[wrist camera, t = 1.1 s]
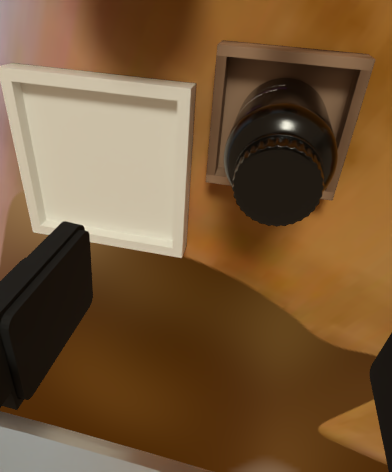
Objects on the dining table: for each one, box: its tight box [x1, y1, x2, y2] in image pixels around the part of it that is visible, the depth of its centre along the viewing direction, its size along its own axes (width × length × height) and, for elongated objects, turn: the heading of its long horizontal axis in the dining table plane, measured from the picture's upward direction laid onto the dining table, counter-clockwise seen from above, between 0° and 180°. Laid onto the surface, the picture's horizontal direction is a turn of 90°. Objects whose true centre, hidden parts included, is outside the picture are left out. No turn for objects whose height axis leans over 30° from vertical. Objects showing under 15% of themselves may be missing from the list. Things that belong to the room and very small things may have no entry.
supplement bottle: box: [224, 78, 338, 226], centre depth 24 cm, size 7×7×12 cm
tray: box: [0, 63, 196, 258], centre depth 34 cm, size 16×16×2 cm
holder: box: [206, 41, 375, 200], centre depth 29 cm, size 10×10×2 cm
